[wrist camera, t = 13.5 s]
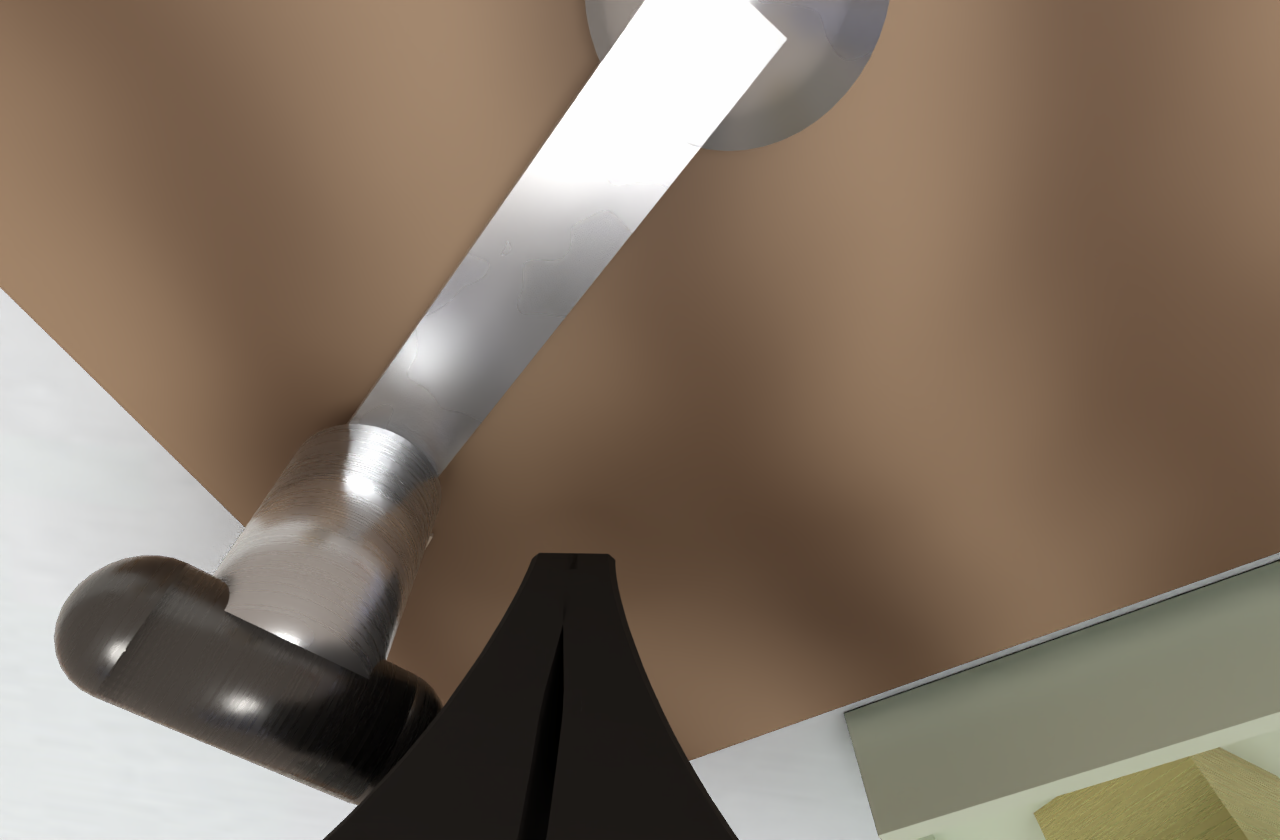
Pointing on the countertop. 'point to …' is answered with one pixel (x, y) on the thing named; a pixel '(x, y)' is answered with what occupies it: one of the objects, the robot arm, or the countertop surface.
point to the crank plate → (702, 315)
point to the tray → (1077, 715)
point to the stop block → (1172, 803)
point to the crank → (442, 407)
